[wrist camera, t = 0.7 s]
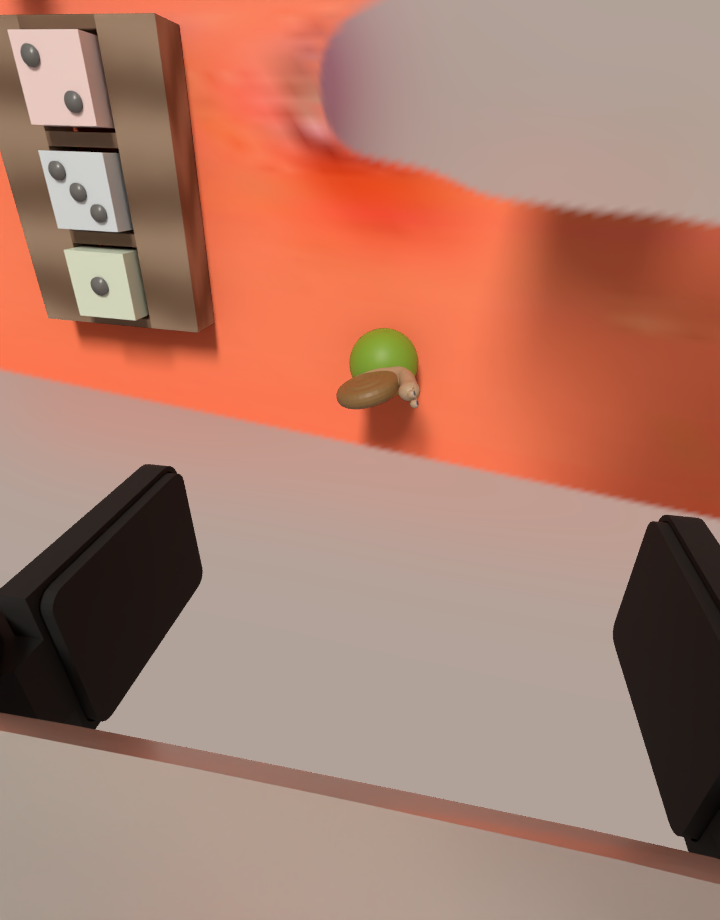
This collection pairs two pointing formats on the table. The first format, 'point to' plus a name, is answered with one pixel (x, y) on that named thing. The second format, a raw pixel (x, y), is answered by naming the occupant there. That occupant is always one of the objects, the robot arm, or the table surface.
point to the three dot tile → (87, 190)
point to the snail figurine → (381, 370)
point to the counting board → (143, 163)
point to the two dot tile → (62, 77)
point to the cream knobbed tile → (107, 282)
